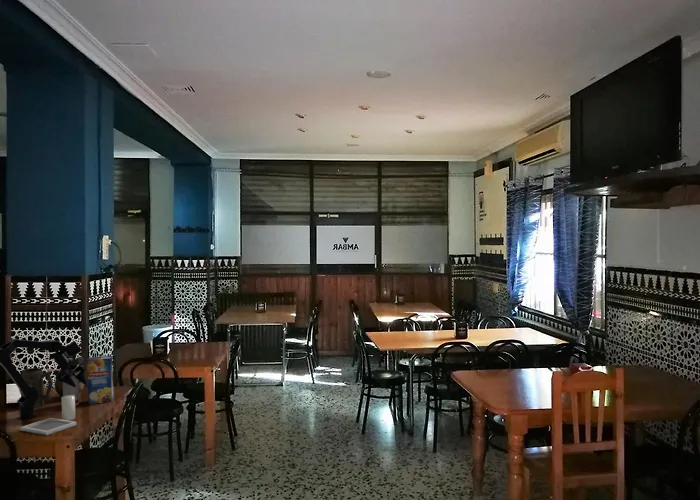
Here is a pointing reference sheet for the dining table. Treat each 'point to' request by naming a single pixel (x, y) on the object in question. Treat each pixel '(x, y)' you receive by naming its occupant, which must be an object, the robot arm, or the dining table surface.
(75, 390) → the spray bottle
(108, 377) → the juice carton
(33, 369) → the beer stein
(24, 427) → the tray
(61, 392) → the ceramic jug
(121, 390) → the dining table surface
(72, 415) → the grey rounded cylinder
